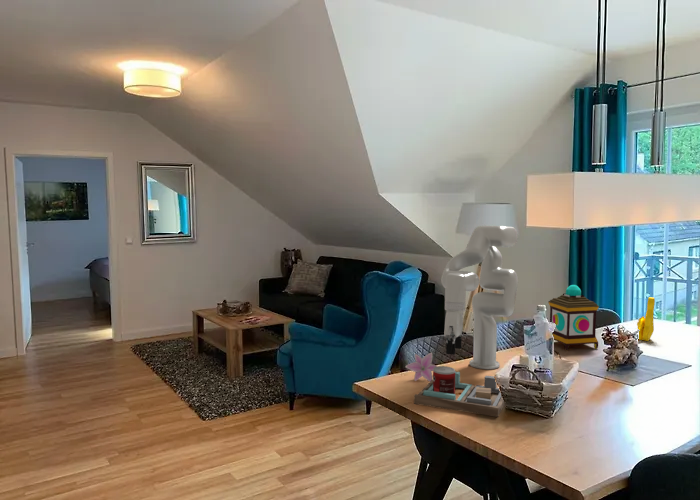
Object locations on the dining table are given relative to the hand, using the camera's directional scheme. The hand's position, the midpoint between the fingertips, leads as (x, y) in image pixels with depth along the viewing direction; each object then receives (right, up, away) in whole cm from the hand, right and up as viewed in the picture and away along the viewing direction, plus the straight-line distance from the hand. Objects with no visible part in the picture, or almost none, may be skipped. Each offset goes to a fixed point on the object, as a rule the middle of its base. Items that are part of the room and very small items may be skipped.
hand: (453, 351), depth 212 cm
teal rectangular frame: (-4, -15, -7) cm, 17 cm away
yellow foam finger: (+110, -8, +73) cm, 133 cm away
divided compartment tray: (+1, -15, -12) cm, 19 cm away
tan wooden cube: (+7, -16, -16) cm, 23 cm away
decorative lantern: (+69, -9, +62) cm, 93 cm away
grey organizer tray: (+9, -15, -13) cm, 22 cm away
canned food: (-6, -15, -11) cm, 20 cm away
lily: (-10, -13, +12) cm, 21 cm away
